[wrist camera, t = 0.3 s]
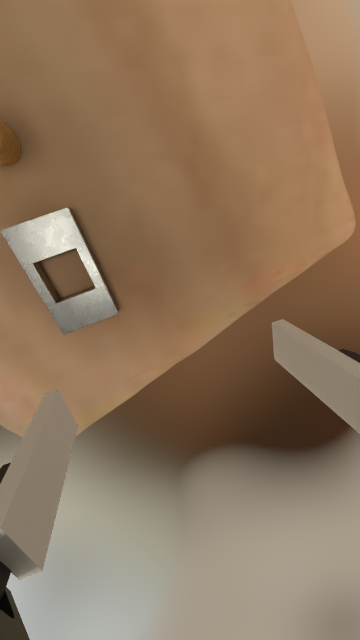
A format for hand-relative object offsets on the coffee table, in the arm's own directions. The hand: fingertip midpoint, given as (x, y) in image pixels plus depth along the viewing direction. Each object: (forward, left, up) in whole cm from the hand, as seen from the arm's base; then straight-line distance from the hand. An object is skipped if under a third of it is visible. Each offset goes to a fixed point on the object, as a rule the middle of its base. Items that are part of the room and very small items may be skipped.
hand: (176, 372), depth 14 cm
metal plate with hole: (-5, -10, -27) cm, 29 cm away
